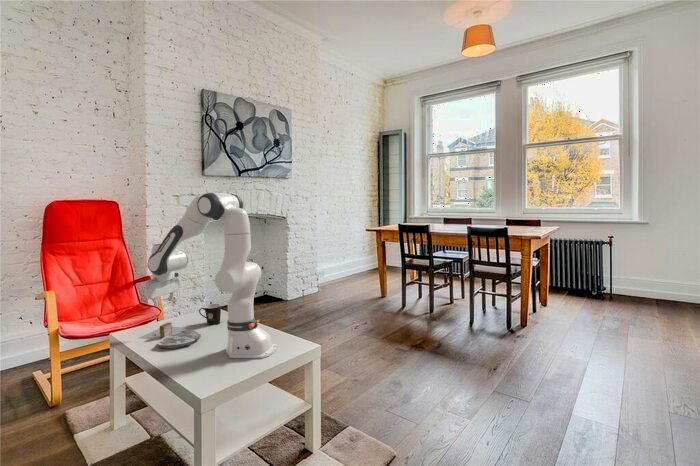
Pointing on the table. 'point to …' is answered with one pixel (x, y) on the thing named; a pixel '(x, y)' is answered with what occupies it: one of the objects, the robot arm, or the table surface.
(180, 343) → the brain slice
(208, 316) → the coffee mug
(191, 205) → the robot arm
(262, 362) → the table surface
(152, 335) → the rubber mat
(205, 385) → the table surface
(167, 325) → the walnut block
